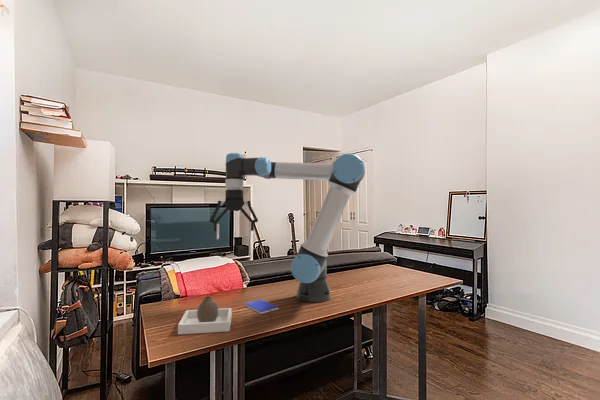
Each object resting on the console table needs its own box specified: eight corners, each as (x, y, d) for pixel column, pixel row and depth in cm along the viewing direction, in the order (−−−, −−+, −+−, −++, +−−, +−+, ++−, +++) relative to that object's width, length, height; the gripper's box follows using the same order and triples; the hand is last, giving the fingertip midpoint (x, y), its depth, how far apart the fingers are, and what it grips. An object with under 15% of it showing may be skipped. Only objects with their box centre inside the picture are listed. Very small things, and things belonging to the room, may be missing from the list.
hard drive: (245, 303, 126) (261, 311, 117) (262, 299, 132) (278, 306, 122) (245, 306, 126) (261, 315, 117) (262, 302, 132) (278, 310, 122)
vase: (198, 328, 102) (198, 301, 102) (195, 321, 108) (195, 295, 108) (219, 324, 105) (220, 298, 105) (215, 317, 111) (215, 293, 111)
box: (231, 316, 114) (231, 307, 114) (229, 331, 100) (229, 321, 100) (186, 318, 111) (186, 310, 111) (177, 334, 98) (177, 325, 98)
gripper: (263, 190, 139) (262, 237, 138) (205, 189, 134) (205, 238, 134) (263, 189, 131) (263, 239, 131) (203, 188, 127) (202, 240, 127)
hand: (234, 238), depth 132 cm, fingers open, 13 cm apart
